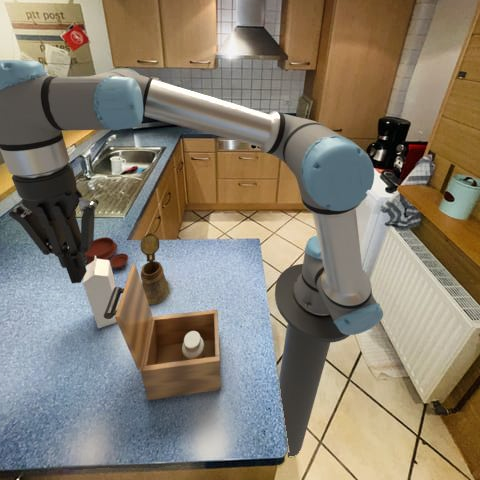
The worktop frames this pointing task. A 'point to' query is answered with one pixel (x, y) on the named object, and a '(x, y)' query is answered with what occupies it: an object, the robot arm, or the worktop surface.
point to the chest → (181, 356)
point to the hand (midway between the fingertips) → (79, 277)
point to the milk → (99, 289)
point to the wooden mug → (153, 271)
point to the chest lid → (132, 315)
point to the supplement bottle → (193, 346)
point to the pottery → (106, 252)
